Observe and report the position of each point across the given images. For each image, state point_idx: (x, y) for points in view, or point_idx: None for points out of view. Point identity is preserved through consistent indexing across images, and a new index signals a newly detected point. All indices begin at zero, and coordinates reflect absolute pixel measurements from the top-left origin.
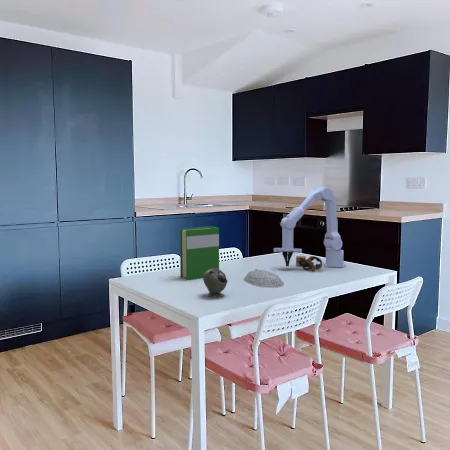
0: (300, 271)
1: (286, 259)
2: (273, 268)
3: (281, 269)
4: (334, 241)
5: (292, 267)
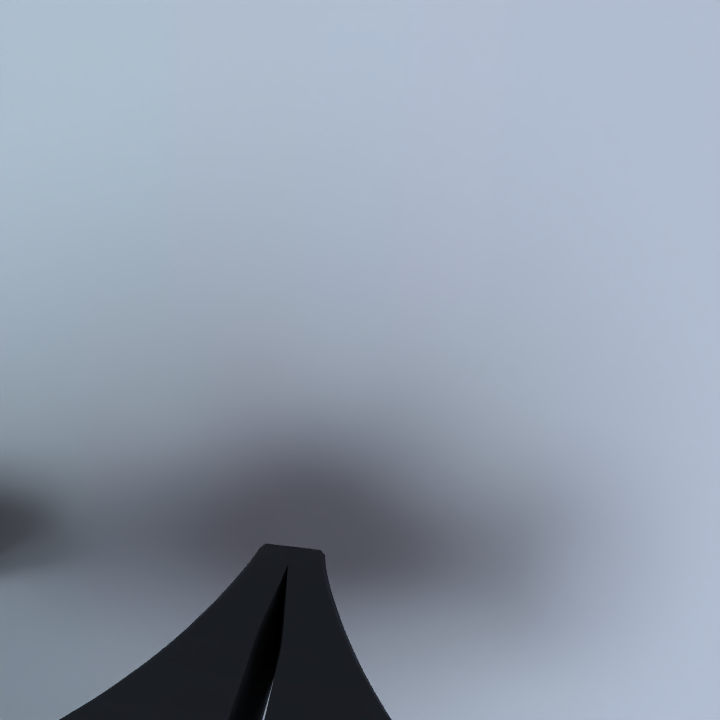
0: (25, 368)
1: (296, 662)
2: (573, 614)
3: (421, 535)
4: None
5: None
